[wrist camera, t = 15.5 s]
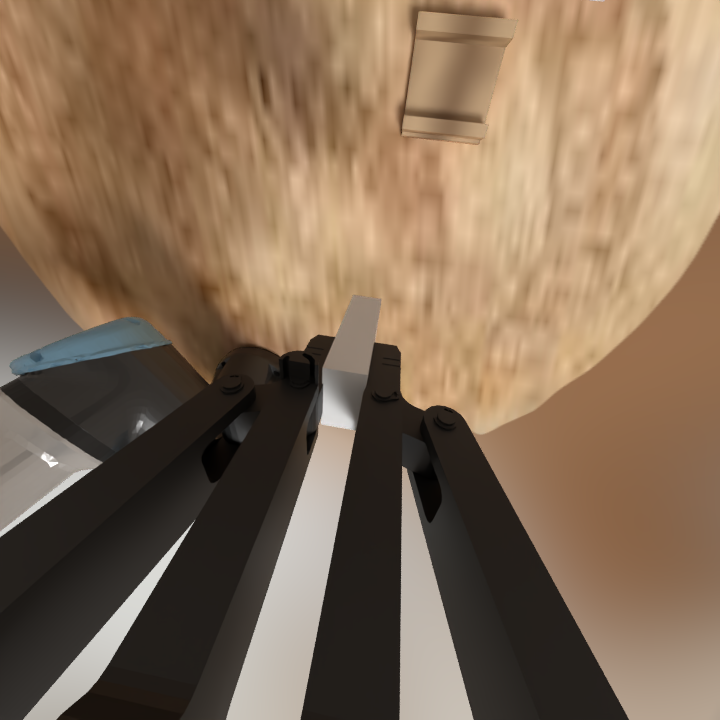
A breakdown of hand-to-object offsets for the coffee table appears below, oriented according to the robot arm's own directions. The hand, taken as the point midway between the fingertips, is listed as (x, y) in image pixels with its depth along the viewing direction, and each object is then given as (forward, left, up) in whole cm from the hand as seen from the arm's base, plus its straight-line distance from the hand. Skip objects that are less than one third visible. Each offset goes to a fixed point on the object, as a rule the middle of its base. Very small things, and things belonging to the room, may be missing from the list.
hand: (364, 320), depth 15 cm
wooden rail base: (+4, +14, -24) cm, 28 cm away
